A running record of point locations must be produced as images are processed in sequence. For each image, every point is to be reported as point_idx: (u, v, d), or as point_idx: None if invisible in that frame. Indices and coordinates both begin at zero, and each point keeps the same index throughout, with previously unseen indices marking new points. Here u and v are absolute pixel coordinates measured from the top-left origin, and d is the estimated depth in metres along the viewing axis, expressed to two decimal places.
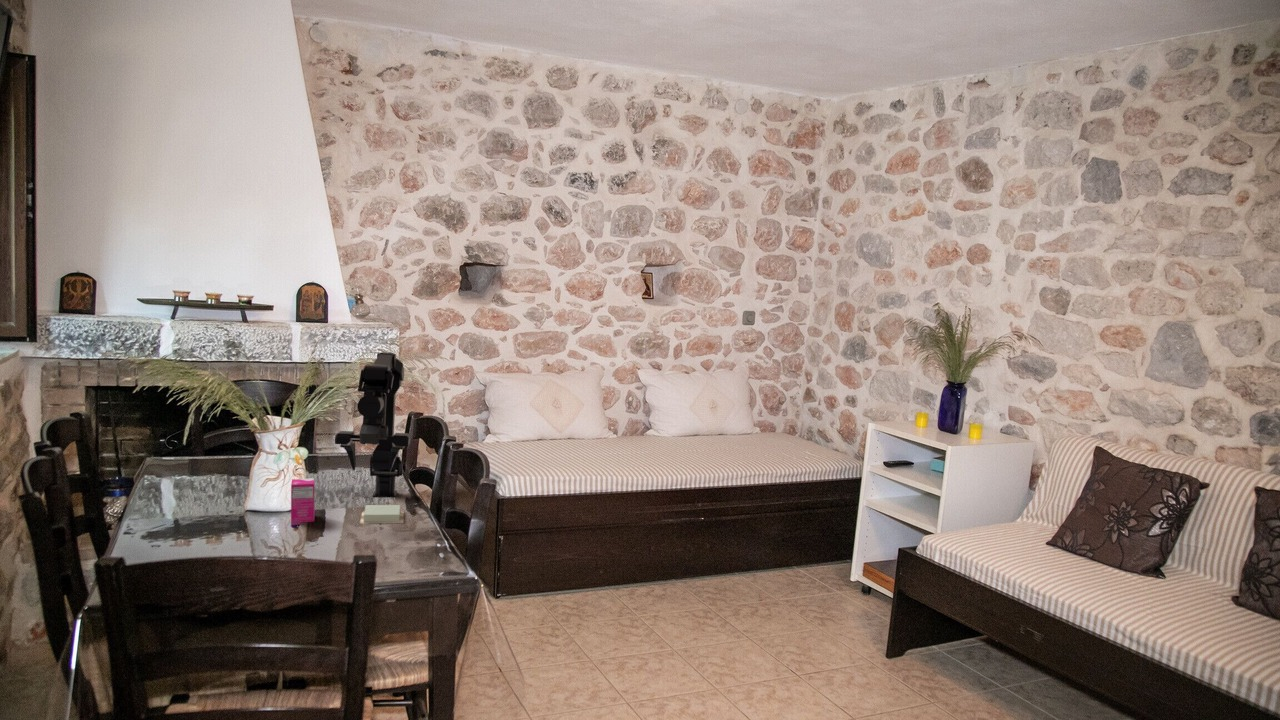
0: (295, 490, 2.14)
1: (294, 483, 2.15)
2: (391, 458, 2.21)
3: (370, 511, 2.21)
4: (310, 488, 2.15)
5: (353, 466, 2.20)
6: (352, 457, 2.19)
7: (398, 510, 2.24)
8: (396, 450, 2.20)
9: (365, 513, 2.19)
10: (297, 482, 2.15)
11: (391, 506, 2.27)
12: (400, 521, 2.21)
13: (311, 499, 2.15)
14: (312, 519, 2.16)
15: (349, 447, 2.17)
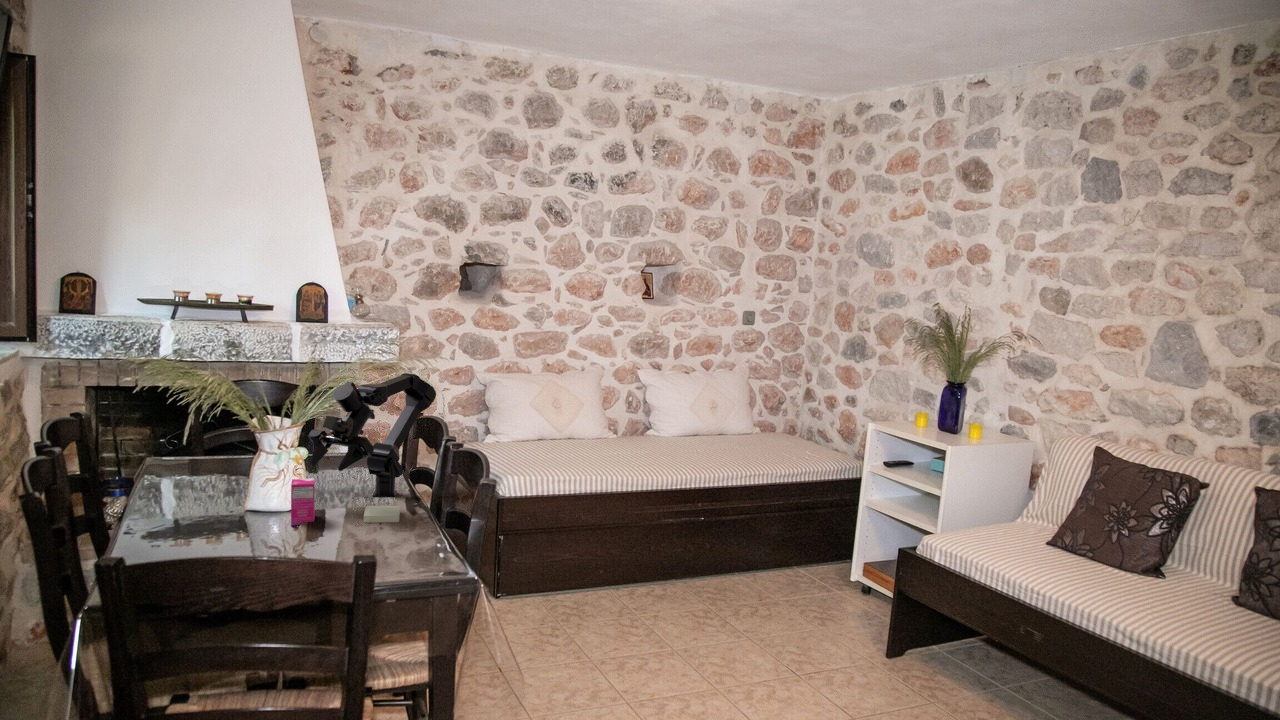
0: (295, 490, 2.14)
1: (294, 483, 2.15)
2: (345, 456, 2.24)
3: (370, 512, 2.21)
4: (310, 488, 2.15)
5: (312, 460, 2.26)
6: (315, 452, 2.27)
7: (398, 511, 2.24)
8: (351, 448, 2.24)
9: (365, 514, 2.19)
10: (297, 482, 2.15)
11: (391, 507, 2.27)
12: None
13: (311, 499, 2.15)
14: (312, 519, 2.16)
15: (316, 440, 2.28)
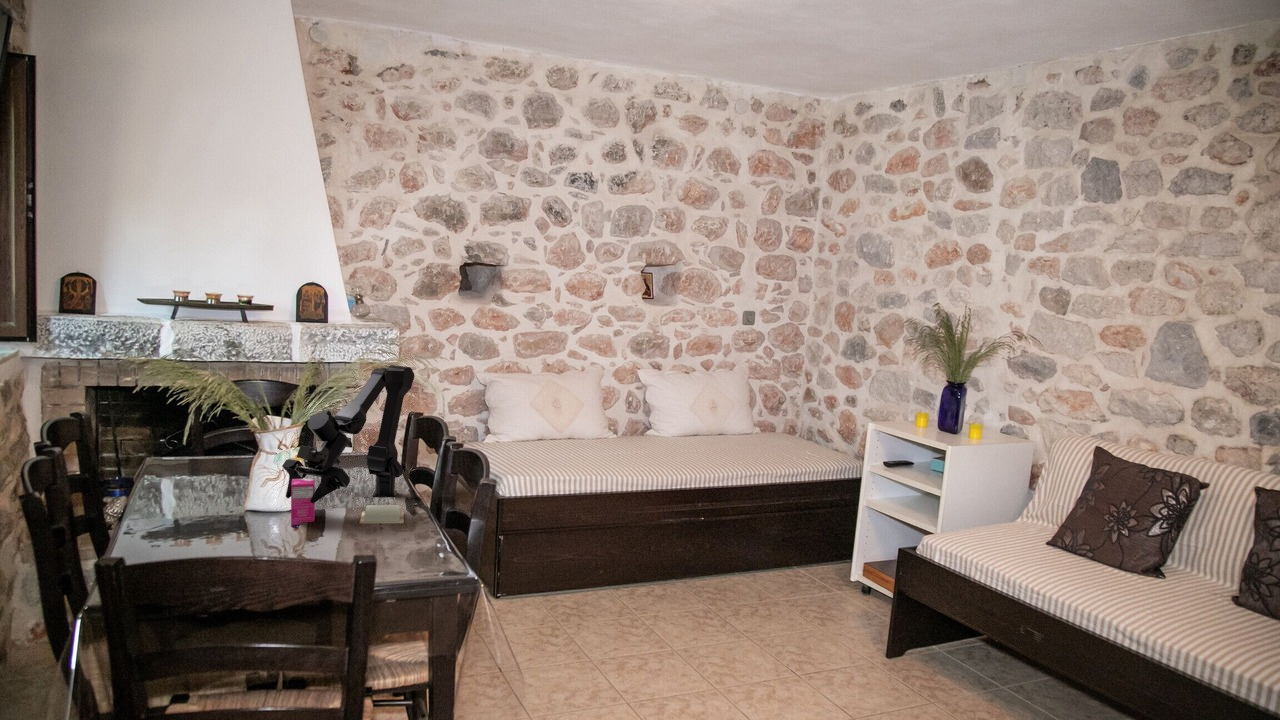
0: (295, 490, 2.14)
1: (294, 483, 2.15)
2: (318, 488, 2.16)
3: (370, 512, 2.21)
4: (310, 488, 2.15)
5: (287, 492, 2.18)
6: None
7: (399, 510, 2.24)
8: (325, 479, 2.16)
9: (365, 513, 2.19)
10: (297, 482, 2.15)
11: (392, 506, 2.27)
12: (400, 521, 2.21)
13: None
14: (312, 519, 2.16)
15: (292, 470, 2.20)
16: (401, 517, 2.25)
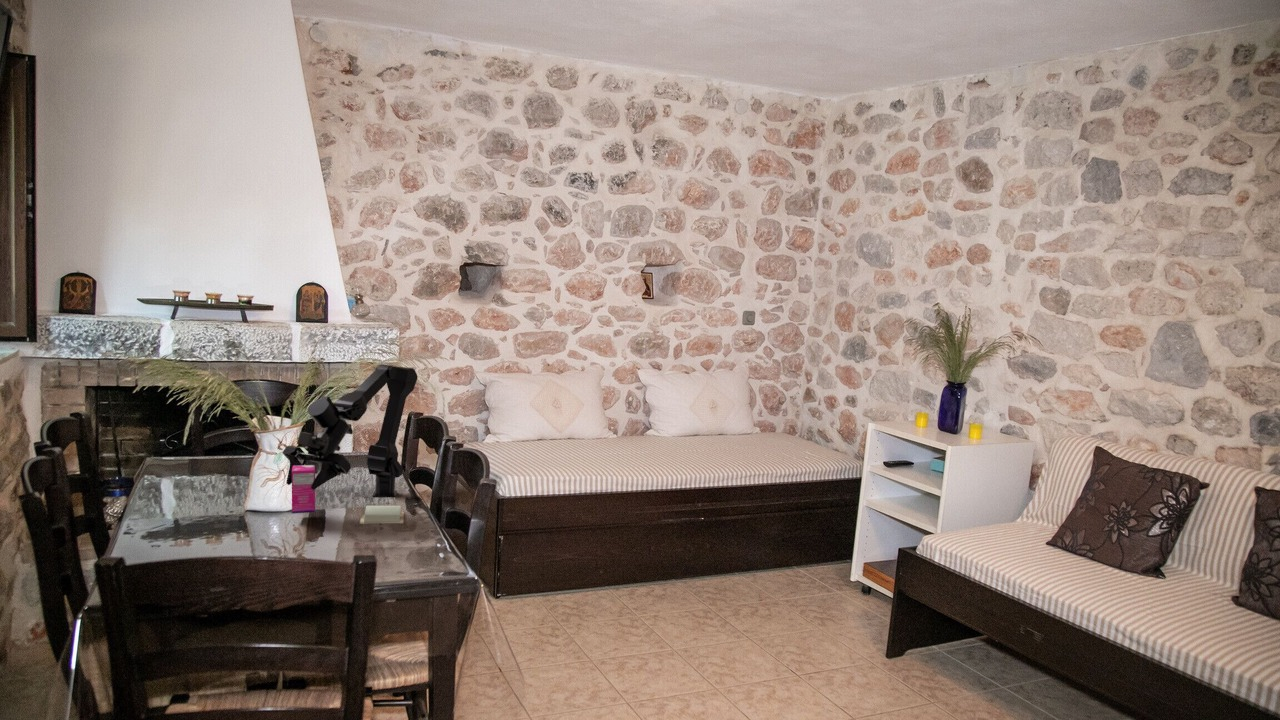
0: (296, 476, 2.14)
1: (295, 469, 2.14)
2: (318, 474, 2.16)
3: (370, 512, 2.21)
4: (311, 475, 2.15)
5: (288, 478, 2.17)
6: (291, 469, 2.19)
7: (399, 510, 2.24)
8: (325, 465, 2.16)
9: (366, 513, 2.19)
10: (297, 469, 2.15)
11: (391, 507, 2.27)
12: (400, 521, 2.21)
13: None
14: (313, 505, 2.16)
15: (292, 457, 2.19)
16: (401, 517, 2.25)
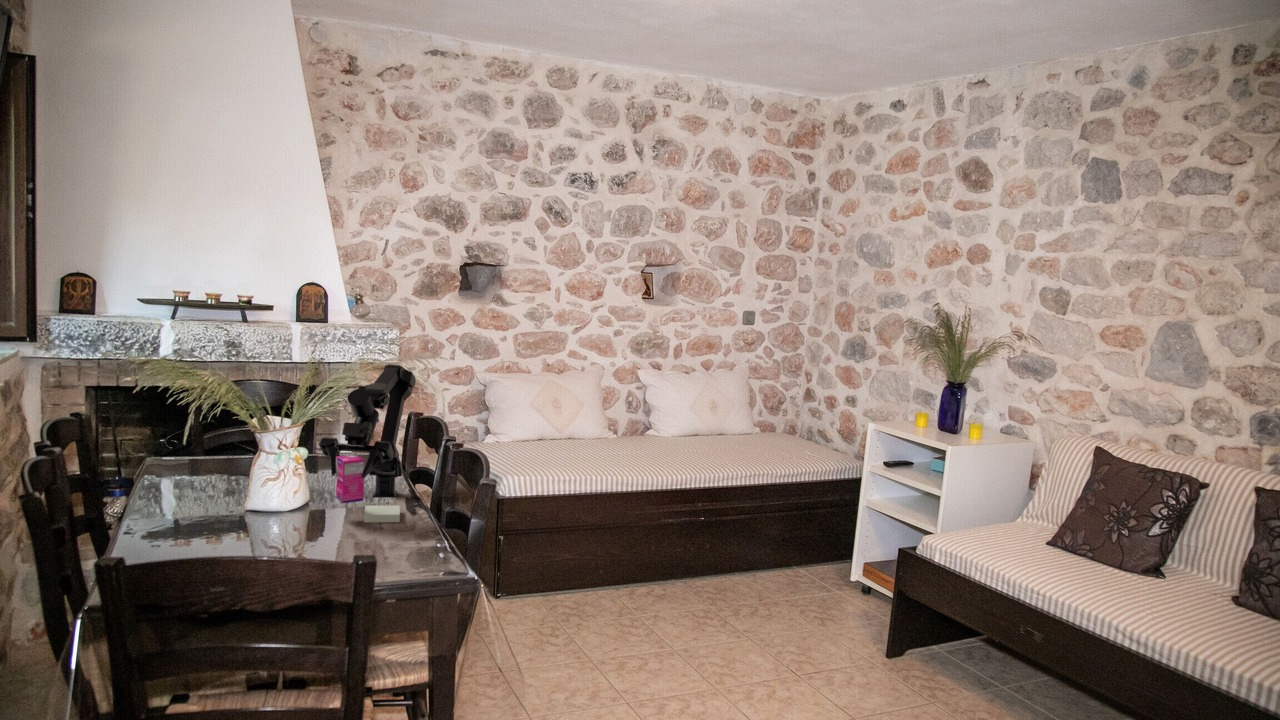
0: (347, 466, 2.15)
1: (344, 460, 2.16)
2: (367, 463, 2.19)
3: (370, 512, 2.21)
4: (361, 464, 2.17)
5: (333, 469, 2.18)
6: (334, 460, 2.19)
7: (398, 510, 2.24)
8: (374, 453, 2.19)
9: (365, 513, 2.19)
10: (346, 459, 2.16)
11: (391, 506, 2.27)
12: None
13: (361, 475, 2.18)
14: (362, 494, 2.19)
15: (333, 448, 2.19)
16: None
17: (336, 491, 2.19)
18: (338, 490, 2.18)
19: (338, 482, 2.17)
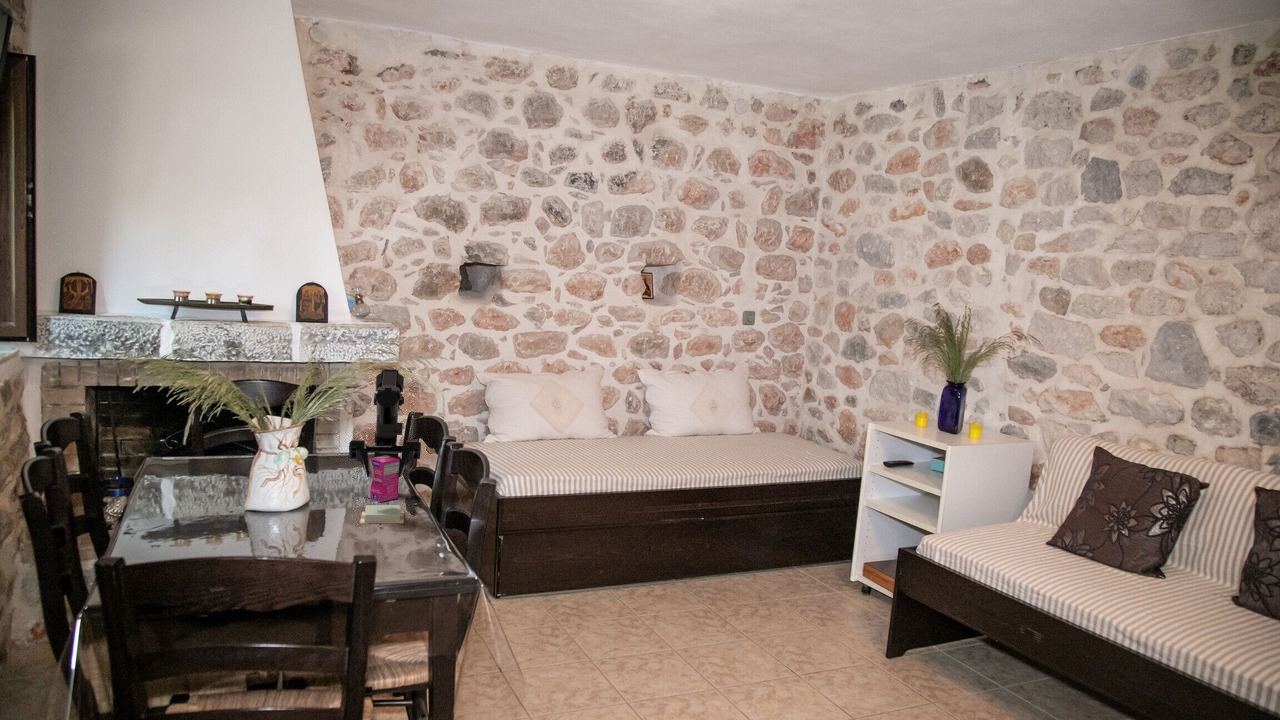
0: (386, 467, 2.20)
1: (382, 461, 2.20)
2: (401, 462, 2.24)
3: (370, 511, 2.21)
4: (397, 464, 2.23)
5: (368, 471, 2.21)
6: (367, 462, 2.22)
7: (399, 510, 2.24)
8: (407, 453, 2.25)
9: (366, 513, 2.19)
10: (383, 460, 2.21)
11: (391, 506, 2.27)
12: (400, 521, 2.21)
13: (397, 474, 2.23)
14: (397, 493, 2.24)
15: (365, 450, 2.22)
16: (401, 517, 2.25)
17: (370, 492, 2.22)
18: (374, 491, 2.21)
19: (375, 483, 2.21)
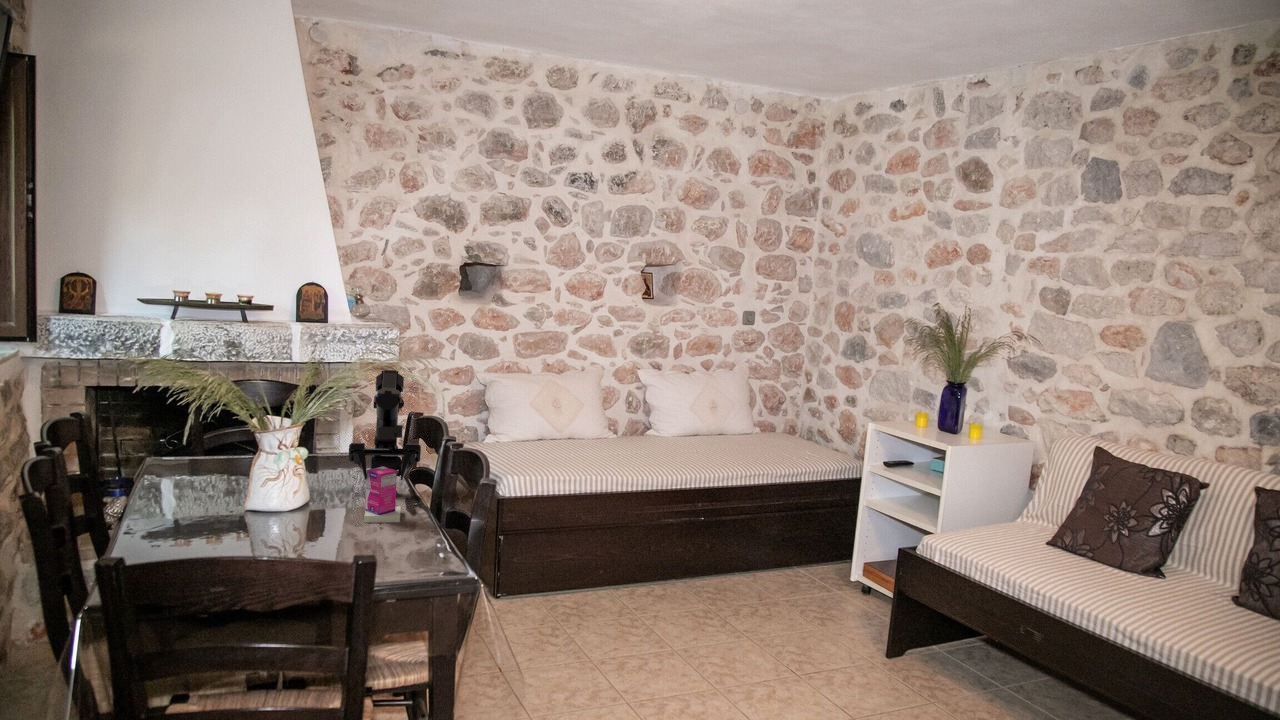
0: (383, 478, 2.19)
1: (379, 472, 2.20)
2: (403, 465, 2.24)
3: (370, 513, 2.21)
4: (394, 475, 2.22)
5: (365, 474, 2.20)
6: (365, 465, 2.22)
7: (399, 511, 2.24)
8: (409, 455, 2.25)
9: (366, 514, 2.19)
10: (380, 471, 2.20)
11: None
12: None
13: (394, 486, 2.23)
14: (394, 505, 2.24)
15: (363, 452, 2.22)
16: None
17: (368, 504, 2.22)
18: (371, 502, 2.21)
19: (372, 495, 2.21)
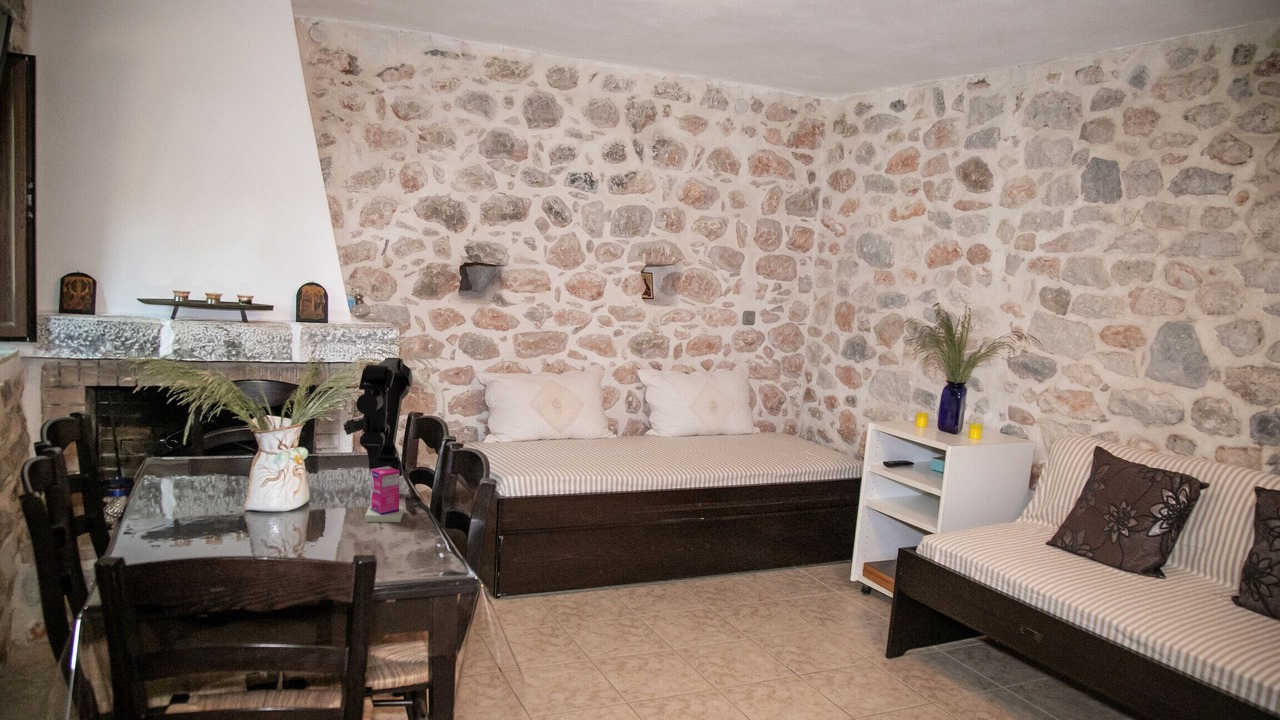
0: (384, 478, 2.19)
1: (381, 472, 2.20)
2: (368, 454, 2.29)
3: (372, 512, 2.22)
4: (396, 475, 2.22)
5: None
6: None
7: (400, 511, 2.24)
8: None
9: (367, 514, 2.20)
10: (382, 471, 2.20)
11: None
12: None
13: (397, 486, 2.22)
14: (398, 505, 2.23)
15: None
16: None
17: (372, 503, 2.23)
18: (374, 502, 2.22)
19: (375, 495, 2.21)
